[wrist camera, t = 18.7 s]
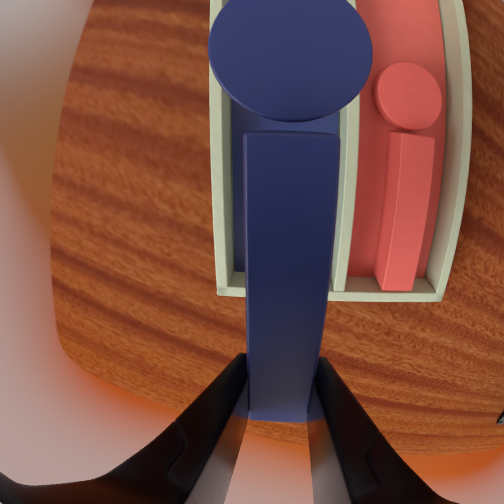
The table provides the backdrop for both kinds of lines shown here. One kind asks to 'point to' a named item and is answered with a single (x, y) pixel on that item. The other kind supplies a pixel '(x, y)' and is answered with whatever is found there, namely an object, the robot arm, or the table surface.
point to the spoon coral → (405, 169)
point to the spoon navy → (288, 178)
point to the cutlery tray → (363, 155)
